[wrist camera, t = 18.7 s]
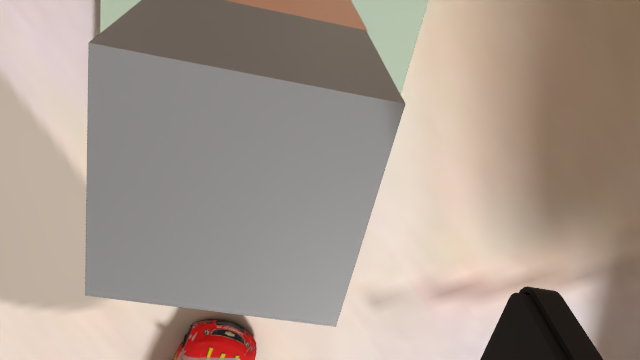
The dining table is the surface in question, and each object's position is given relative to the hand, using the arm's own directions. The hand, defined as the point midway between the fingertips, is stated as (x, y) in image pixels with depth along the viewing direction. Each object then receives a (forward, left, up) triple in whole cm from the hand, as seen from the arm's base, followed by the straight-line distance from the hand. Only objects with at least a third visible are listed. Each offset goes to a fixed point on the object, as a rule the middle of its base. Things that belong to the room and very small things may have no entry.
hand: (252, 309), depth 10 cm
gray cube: (+1, -1, -9) cm, 9 cm away
